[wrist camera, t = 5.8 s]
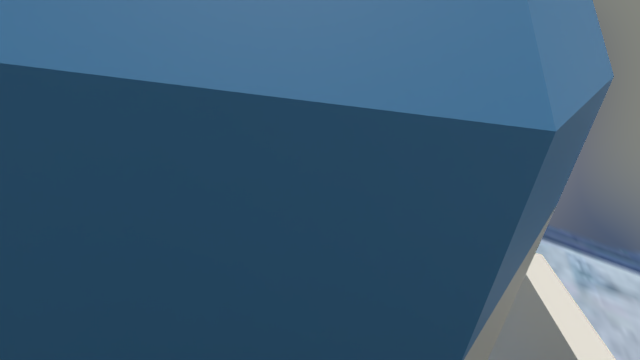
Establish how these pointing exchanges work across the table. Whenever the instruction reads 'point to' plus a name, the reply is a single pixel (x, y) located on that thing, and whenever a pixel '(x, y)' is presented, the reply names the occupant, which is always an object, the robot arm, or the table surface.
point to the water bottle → (282, 173)
